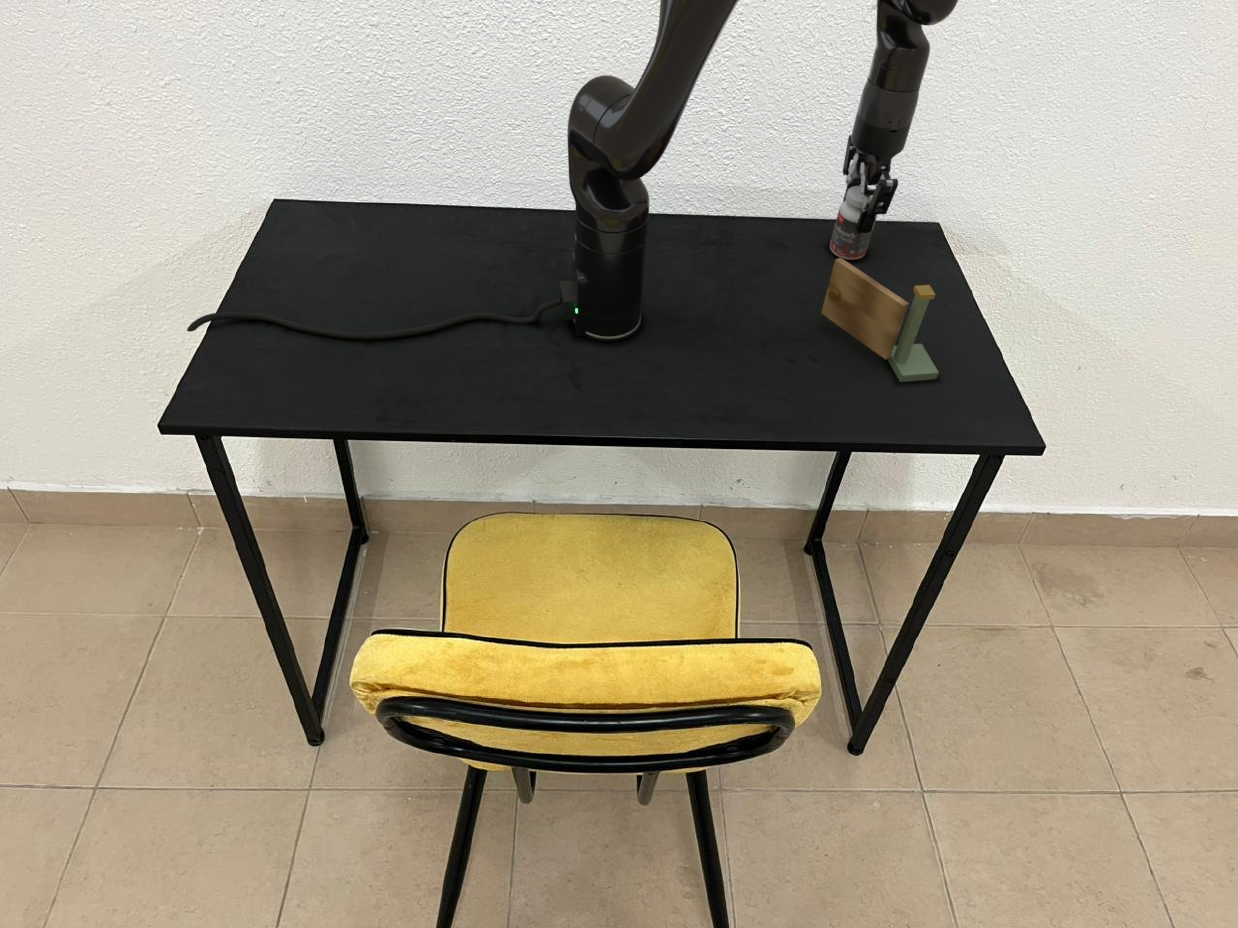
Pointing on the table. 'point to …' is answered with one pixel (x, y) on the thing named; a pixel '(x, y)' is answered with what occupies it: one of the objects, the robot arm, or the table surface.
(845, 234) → the pill bottle
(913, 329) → the door frame
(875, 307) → the door
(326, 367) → the table surface
